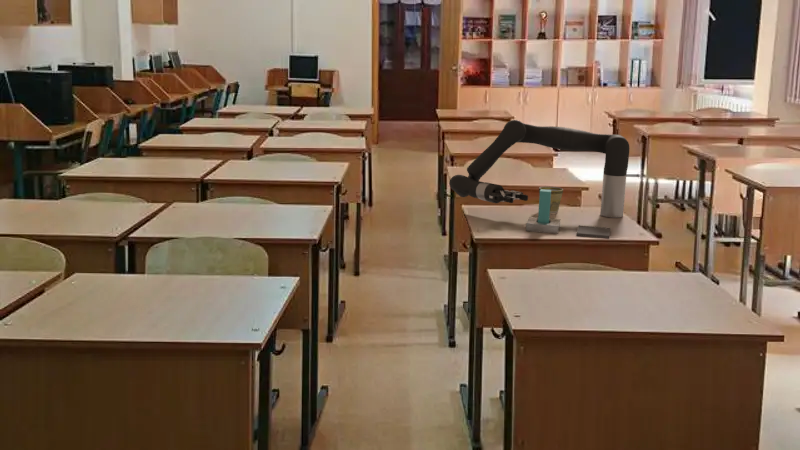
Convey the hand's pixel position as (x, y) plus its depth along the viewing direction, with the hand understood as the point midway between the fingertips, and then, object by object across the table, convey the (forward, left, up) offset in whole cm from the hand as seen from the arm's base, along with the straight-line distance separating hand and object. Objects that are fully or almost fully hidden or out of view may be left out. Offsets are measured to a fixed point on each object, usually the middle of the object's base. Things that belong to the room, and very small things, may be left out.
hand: (520, 199), depth 365 cm
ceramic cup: (-28, +10, -10) cm, 31 cm away
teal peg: (+7, +10, -10) cm, 16 cm away
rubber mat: (+7, +29, -10) cm, 31 cm away
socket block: (+7, +10, -10) cm, 16 cm away
